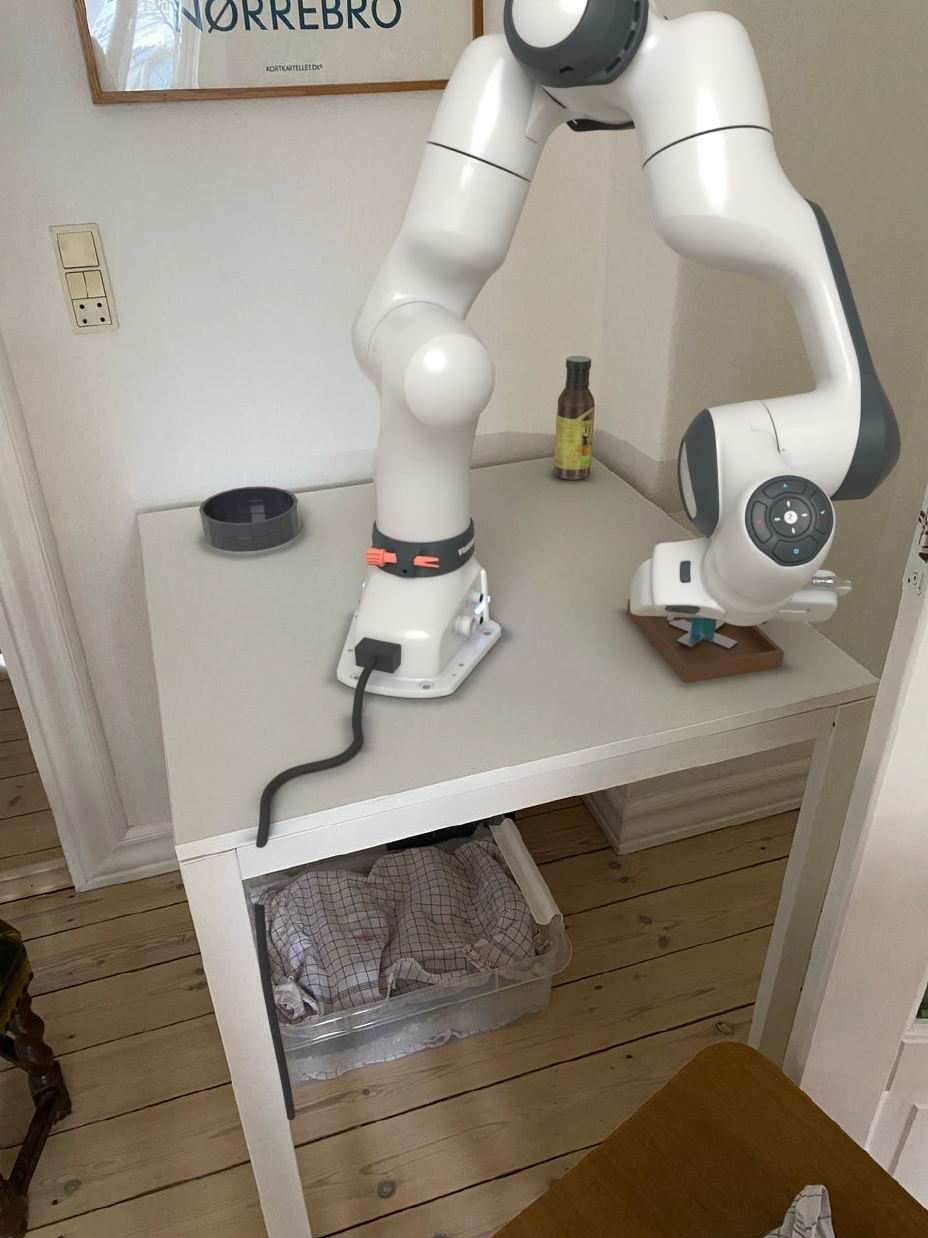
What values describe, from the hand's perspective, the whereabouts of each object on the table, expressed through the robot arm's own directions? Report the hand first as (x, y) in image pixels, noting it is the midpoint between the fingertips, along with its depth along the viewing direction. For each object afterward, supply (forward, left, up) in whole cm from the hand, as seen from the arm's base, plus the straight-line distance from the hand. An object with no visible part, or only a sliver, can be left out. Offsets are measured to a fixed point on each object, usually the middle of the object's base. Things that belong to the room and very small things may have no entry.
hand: (717, 615), depth 101 cm
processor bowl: (+23, +67, -8) cm, 71 cm away
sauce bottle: (+58, +24, -8) cm, 63 cm away
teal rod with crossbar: (+8, +1, -7) cm, 11 cm away
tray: (+8, +1, -8) cm, 11 cm away
